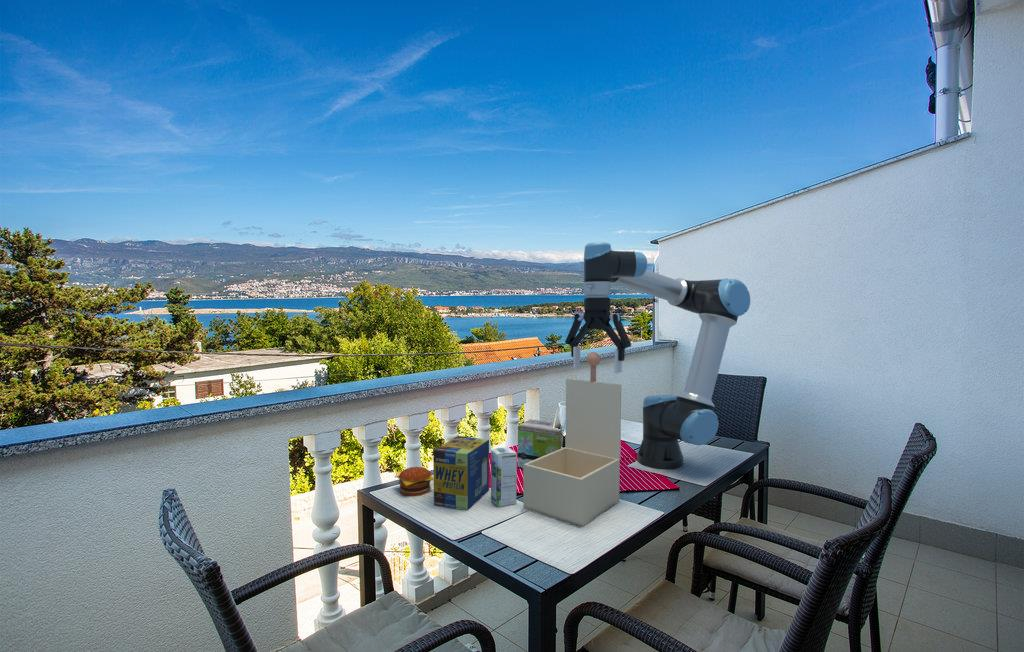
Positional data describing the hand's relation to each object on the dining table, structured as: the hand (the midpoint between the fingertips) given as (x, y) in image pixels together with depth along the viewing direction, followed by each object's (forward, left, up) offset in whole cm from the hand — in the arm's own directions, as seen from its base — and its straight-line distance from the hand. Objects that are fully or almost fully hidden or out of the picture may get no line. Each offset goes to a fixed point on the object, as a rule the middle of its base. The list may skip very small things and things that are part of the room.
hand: (596, 370), depth 142 cm
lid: (+4, 0, -9) cm, 10 cm away
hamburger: (+33, -42, -36) cm, 64 cm away
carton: (+13, 0, -36) cm, 38 cm away
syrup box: (+23, -16, -36) cm, 45 cm away
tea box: (-7, -24, -36) cm, 44 cm away
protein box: (+28, -27, -36) cm, 53 cm away
